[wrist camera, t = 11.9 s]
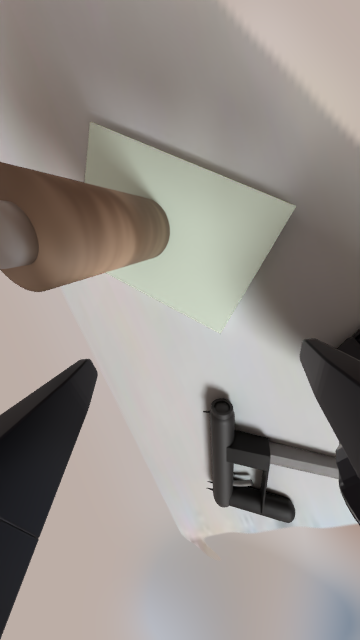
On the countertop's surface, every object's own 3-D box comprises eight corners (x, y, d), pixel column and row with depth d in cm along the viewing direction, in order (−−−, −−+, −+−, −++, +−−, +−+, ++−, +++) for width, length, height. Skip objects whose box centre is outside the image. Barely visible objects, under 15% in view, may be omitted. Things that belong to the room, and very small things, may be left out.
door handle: (367, 441, 18) (198, 412, 23) (325, 543, 26) (205, 505, 31) (351, 412, 21) (203, 392, 26) (317, 512, 29) (208, 482, 34)
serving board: (293, 207, 15) (296, 206, 14) (222, 328, 21) (220, 333, 20) (99, 127, 17) (89, 121, 16) (85, 256, 24) (77, 258, 23)
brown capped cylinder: (181, 234, 18) (61, 248, 7) (143, 269, 20) (16, 317, 10) (144, 182, 17) (-51, 110, 6) (111, 225, 20) (-67, 226, 9)
